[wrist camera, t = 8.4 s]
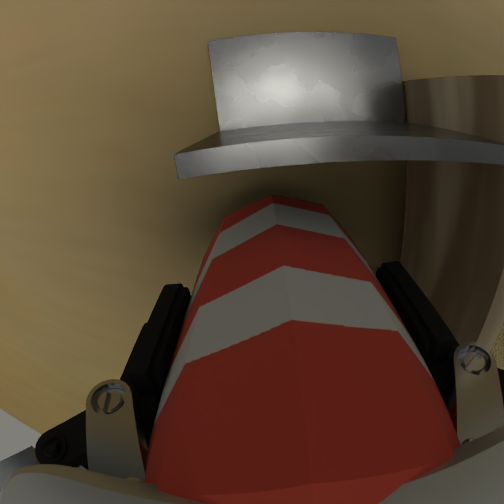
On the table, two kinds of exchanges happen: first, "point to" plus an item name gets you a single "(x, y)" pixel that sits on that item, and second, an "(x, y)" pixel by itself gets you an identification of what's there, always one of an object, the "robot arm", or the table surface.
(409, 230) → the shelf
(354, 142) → the bookend
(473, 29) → the table surface
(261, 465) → the beverage can
